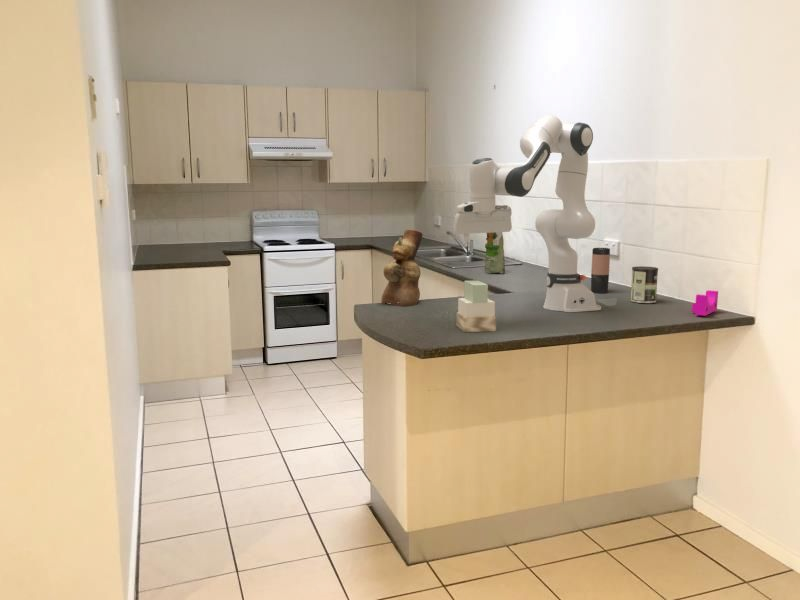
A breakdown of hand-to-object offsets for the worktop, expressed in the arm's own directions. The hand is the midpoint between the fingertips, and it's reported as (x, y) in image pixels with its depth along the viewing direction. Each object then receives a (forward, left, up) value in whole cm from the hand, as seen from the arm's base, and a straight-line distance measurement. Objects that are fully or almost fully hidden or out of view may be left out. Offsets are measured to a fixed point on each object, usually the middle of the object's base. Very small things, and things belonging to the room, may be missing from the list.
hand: (482, 245), depth 245 cm
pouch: (-41, -126, -28) cm, 136 cm away
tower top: (+4, +9, -23) cm, 25 cm away
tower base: (+5, +9, -28) cm, 29 cm away
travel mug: (-69, -55, -28) cm, 93 cm away
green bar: (+5, +9, -18) cm, 20 cm away
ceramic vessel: (+21, -44, -28) cm, 56 cm away
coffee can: (-78, -32, -28) cm, 89 cm away
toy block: (-90, -7, -28) cm, 94 cm away
